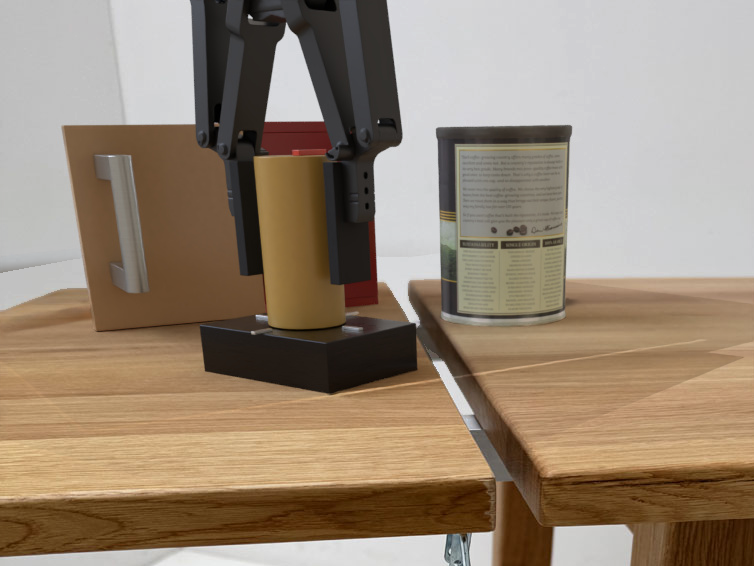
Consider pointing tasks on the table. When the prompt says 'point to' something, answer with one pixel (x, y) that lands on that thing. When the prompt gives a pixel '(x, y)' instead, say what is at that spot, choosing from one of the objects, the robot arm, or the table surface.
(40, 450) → the table surface
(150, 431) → the table surface
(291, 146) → the dark red cabinet
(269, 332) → the dark brown base block
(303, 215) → the knob
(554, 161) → the coffee can
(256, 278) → the door
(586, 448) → the table surface
